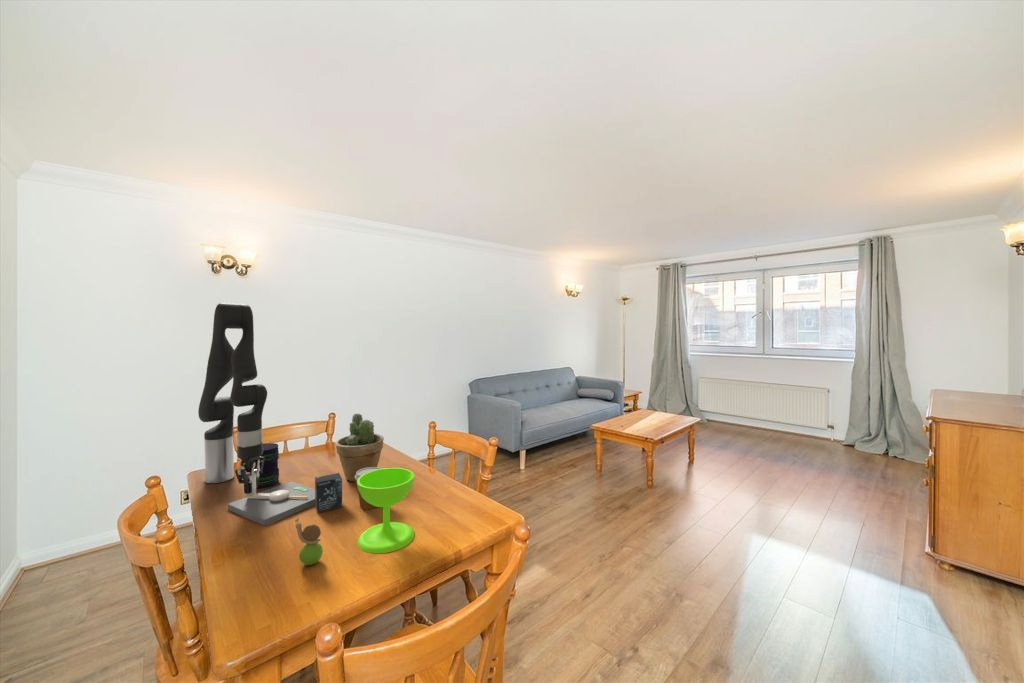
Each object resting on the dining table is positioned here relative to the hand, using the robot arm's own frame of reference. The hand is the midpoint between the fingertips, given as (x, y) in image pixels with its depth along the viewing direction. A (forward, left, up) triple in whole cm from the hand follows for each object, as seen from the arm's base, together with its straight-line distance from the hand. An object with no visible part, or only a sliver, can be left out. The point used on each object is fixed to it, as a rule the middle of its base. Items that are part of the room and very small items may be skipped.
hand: (251, 490), depth 137 cm
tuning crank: (+9, +5, -2) cm, 10 cm away
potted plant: (+13, +36, -5) cm, 38 cm away
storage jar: (-13, +12, -5) cm, 18 cm away
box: (+26, +12, -5) cm, 29 cm away
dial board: (+9, +5, -5) cm, 11 cm away
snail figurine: (+50, -11, -5) cm, 51 cm away
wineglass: (+58, +8, -5) cm, 58 cm away
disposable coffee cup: (+37, +20, -5) cm, 42 cm away
